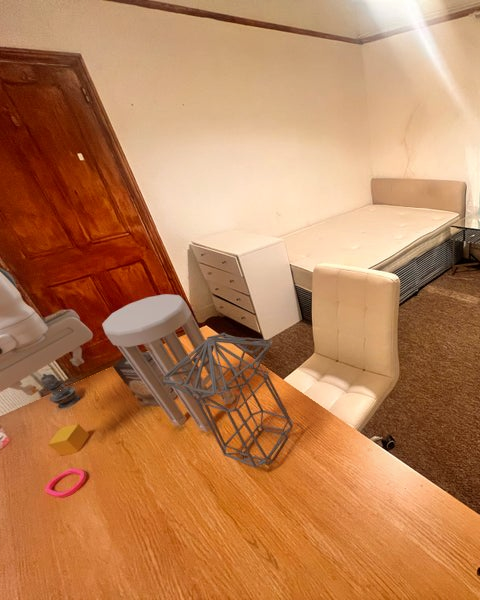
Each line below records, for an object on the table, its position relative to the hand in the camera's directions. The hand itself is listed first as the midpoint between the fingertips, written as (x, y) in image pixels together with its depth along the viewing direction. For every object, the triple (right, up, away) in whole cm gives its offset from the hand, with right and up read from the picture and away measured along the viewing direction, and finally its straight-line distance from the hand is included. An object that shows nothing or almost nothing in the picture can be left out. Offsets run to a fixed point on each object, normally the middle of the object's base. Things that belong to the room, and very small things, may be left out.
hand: (57, 377), depth 73 cm
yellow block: (-5, -20, +9) cm, 23 cm away
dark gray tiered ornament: (-21, -13, +23) cm, 34 cm away
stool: (+26, -14, +16) cm, 33 cm away
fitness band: (+3, -25, 0) cm, 25 cm away
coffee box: (+9, -12, +21) cm, 26 cm away
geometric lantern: (+47, -19, +5) cm, 51 cm away
